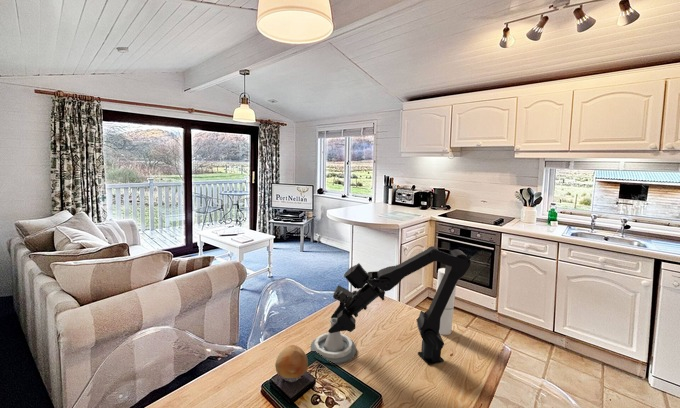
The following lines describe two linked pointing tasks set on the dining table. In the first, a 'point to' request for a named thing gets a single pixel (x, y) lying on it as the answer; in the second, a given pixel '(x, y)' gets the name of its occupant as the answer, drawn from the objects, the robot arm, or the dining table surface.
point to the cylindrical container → (446, 308)
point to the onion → (291, 362)
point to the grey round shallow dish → (335, 357)
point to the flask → (334, 340)
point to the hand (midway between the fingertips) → (330, 324)
